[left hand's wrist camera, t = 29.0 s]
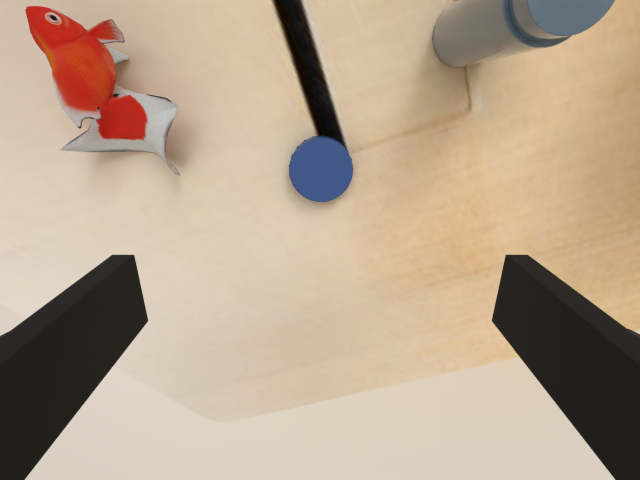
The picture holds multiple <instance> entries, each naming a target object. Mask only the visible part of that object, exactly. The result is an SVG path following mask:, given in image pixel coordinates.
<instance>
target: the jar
mask: <svg viewBox="0 0 640 480" xmlns="http://www.w3.org/2000/svg"><path fill="white" fill-rule="evenodd" d="M614 1H615V0H456V1H455V2H453V3H452V4H451V5H449V6H448V7H447V8H446V9H445V10H444V11H443V12H442V13H441V15H440V16H439V18H438V20H437V21H436V24H435V27H434V31H433V45H434V49H435V52H436V54H437V56H438V57H439V58H440V59H441V61H443V62H444V63H445V64H447V65H449V66H452V67H465V66H469V65H474V64H478V63H482V62H486V61H491V60H495V59H499V58H504V57H508V56H512V55H516V54H521V53H525V52H529V51H534V50H538V49H542V48H547V47H551V46H554V45H557V44H559V43H561V42H563V41H565V40H567V39H568V38H570V37H571V36H572V35H575V34H578V33H581V32H583V31H585V30H587V29H588V28H590V27H591V26H593V25H594V24H595V23H597V22H598V21H599V20H600V19H601V18H602V17H603V16H604V15H605V14H606V12H607V11H608V10H609V9H610V7H611V6H612V4H613V3H614Z"/></svg>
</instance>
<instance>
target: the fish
mask: <svg viewBox="0 0 640 480" xmlns="http://www.w3.org/2000/svg"><path fill="white" fill-rule="evenodd" d="M26 15H27V19H28V23H29V27H30V32H31V34H32V36H33V38H34V40H35V42H36V43H37V45H38V46H39V47H40V49H41V50H42V51H43V52H44V53H45V54H46V56H47V58H48V61H49V63H50V66H51V68H52V75H53V80H54V85H55V89H56V93H57V96H58V99H59V102H60V105H61V106H62V108H63V109H64V111H65V112H66V114H67V115H68V116H69V118H70V119H71V120H72V121H73V122H74V123H75V124H76V126H77V127H78V128H81V125H82V121H83V119H85V118H91V119H93V121H92V123H91V125H90V127H89V130H87V131H86V132H84V133H83V134H81V135H80V136H78V137H77V138H75V139H74V140H72V141H71V142H70V143H68V144H67V145H66V146H64V147H63V148H62V149H61V150H68V151H81V152H115V151H143V152H155V153H157V154H158V155H159V156H160V157H161V158H162V159H163V160H164V161H165V162H166V164H167V165H168V166H169V167H170V168H171V169H172V171H173V172H174V173H175V174H177V175H178V176H180V175H179V172H178V170H177V169H176V168H175V167H174V165H173V164H172V163H171V162H170V161H168V160H167V159H166V152H165V145H166V140H167V135H168V131H169V129H170V126H171V124H172V122H173V119H174V116H175V114H176V111H177V109H178V106H177V105H175V104H174V103H173V102H171V101H170V100H169V99H167V98H164V97H158V96H153V95H147V94H139V93H136V92H133V91H130V90H127V89H124V88H122V87H120V86H118V85H116V84H115V83H116V67H115V64H119V63H121V62H123V61H126V60H128V59H129V57H128V56H127V55H126V54H124V53H122V52H119V51H117V50H115V49H112V48H110V47H108V46H105V45H104V44H103V43H111V42H124V37H123V34H122V32H121V31H120V30H119V29H118V27H117V26H116V25H115V23H114V21H113V20H107V21H103V22H101V23H99V24H98V25H96V26H95V27H93V28H91V29H90V30H88V31H87V30H85V29H84V28H83V26H82V25H80V24H79V23H77V22H75V21H74V20H72V19H70V18H69V17H67V16H65V15H63V14H62V13H60V12H58V11H56V10H53V9H50V8H46V7H40V6H29V7H27V9H26ZM96 106H97V107H96Z"/></svg>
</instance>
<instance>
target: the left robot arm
mask: <svg viewBox="0 0 640 480" xmlns="http://www.w3.org/2000/svg"><path fill="white" fill-rule="evenodd" d="M147 322H148V318H147V313H146V308H145V304H144V299H143V294H142V290H141V285H140V280H139V276H138V271H137V266H136V261H135V257H134V255H112V256H110V257H109V258H108V259H106V260H105V261H104V262H102V263H101V264H100V265H98V266H97V267H96V268H94V269H93V270H91V271H90V272H89V273H87V274H86V275H85V276H83V277H82V278H81V279H79V280H78V281H77V282H75V283H74V284H73V285H71V286H70V287H69V288H67V289H66V290H65V291H63V292H62V293H61V294H59V295H58V296H57V297H55V298H54V299H53V300H51V301H50V302H49V303H47V304H46V305H45V306H43V307H42V308H40V309H39V310H38V311H36V312H35V313H34V314H32V315H31V316H30V317H28V318H27V319H26V320H24V321H23V322H22V323H20V324H19V325H18V326H16V327H15V328H14V329H12V330H11V331H9V332H7V333H5V334H3V335H1V336H0V480H25V478H26V477H27V476H28V474H29V473H30V472H31V471H32V469H33V468H34V467H35V465H36V464H37V463H38V462H39V460H40V459H41V458H42V457H43V455H44V454H45V453H46V451H47V450H48V449H49V448H50V446H51V445H52V444H53V442H54V441H55V440H56V438H57V437H58V436H59V435H60V433H61V432H62V431H63V430H64V428H65V427H66V426H67V424H68V423H69V422H70V421H71V419H72V418H73V417H74V415H75V414H76V413H77V411H78V410H79V409H80V408H81V406H82V405H83V404H84V403H85V401H86V400H87V399H88V397H89V396H90V395H91V394H92V392H93V391H94V390H95V388H96V387H97V386H98V385H99V383H100V382H101V381H102V380H103V378H104V377H105V376H106V374H107V373H108V372H109V371H110V369H111V368H112V367H113V365H114V364H115V363H116V362H117V360H118V359H119V358H120V356H121V355H122V354H123V353H124V351H125V350H126V349H127V347H128V346H129V345H130V344H131V342H132V341H133V340H134V338H135V337H136V336H137V335H138V333H139V332H140V331H141V329H142V328H143V327H144V326H145V324H146V323H147ZM492 322H493V323H494V324H495V326H496V327H497V328H498V329H499V331H500V332H501V333H502V335H503V336H504V337H505V338H506V340H507V341H508V342H509V344H510V345H511V346H512V347H513V349H514V350H515V351H516V353H517V354H518V355H519V356H520V358H521V359H522V360H523V362H524V363H525V364H526V365H527V367H528V368H529V369H530V371H531V372H532V373H533V374H534V376H535V377H536V378H537V380H538V381H539V382H540V383H541V385H542V386H543V387H544V388H545V390H546V391H547V392H548V394H549V395H550V396H551V397H552V399H553V400H554V401H555V402H556V404H557V405H558V406H559V408H560V409H561V410H562V412H563V413H564V414H565V415H566V417H567V418H568V419H569V420H570V422H571V423H572V424H573V426H574V427H575V428H576V430H577V431H578V432H579V433H580V435H581V436H582V437H583V439H584V440H585V441H586V442H587V444H588V445H589V446H590V448H591V449H592V450H593V451H594V453H595V454H596V455H597V457H598V458H599V459H600V460H601V462H602V463H603V464H604V466H605V467H606V468H607V469H608V471H609V472H610V473H611V475H612V476H613V477H614V478H615V480H640V334H638V333H636V332H634V331H632V330H630V329H626V328H625V327H624V326H622V325H621V324H620V323H618V322H617V321H616V320H614V319H613V318H612V317H610V316H609V315H608V314H606V313H605V312H604V311H602V310H601V309H600V308H598V307H597V306H595V305H594V304H593V303H591V302H590V301H589V300H587V299H586V298H585V297H583V296H582V295H581V294H579V293H578V292H577V291H575V290H574V289H573V288H571V287H570V286H569V285H567V284H566V283H565V282H563V281H562V280H561V279H559V278H558V277H557V276H555V275H554V274H553V273H551V272H550V271H549V270H547V269H546V268H544V267H543V266H542V265H540V264H539V263H538V262H536V261H535V260H534V259H532V258H531V257H530V256H528V255H506V257H505V261H504V266H503V271H502V276H501V280H500V285H499V290H498V294H497V299H496V304H495V308H494V313H493V318H492Z"/></svg>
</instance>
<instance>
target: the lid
mask: <svg viewBox="0 0 640 480" xmlns="http://www.w3.org/2000/svg"><path fill="white" fill-rule="evenodd" d="M291 157H292V159H291V162H290V165H289V173H290V178H291V181H292V184H293V186H294V187H295V189H296V190H297V191H298V192H299V193H300V194H301V195H302V196H304V197H305V198H307V199H310V200H313V201H318V202H324V201H329V200H332V199H335V198H337V197H338V196H340V195H341V194H342V193H343V192H344V191H345V190H346V189H347V187H348V186H349V184H350V182H351V179H352V174H353V166H352V161H351V160H352V159H351V157H350V156H349V154H348V151H347V149H345V147H344V146H343V145H342V144H341V142H338V141H337V140H335V139H333V138H332V137H331V138H330V137H326V136H323V135H322V136H316V137H314V136H313V137H312V138H309V139H307V140H304V142H303V143H301V144H300V145H299V146H297V148H296V150H295V152H294V154H292V156H291Z"/></svg>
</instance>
